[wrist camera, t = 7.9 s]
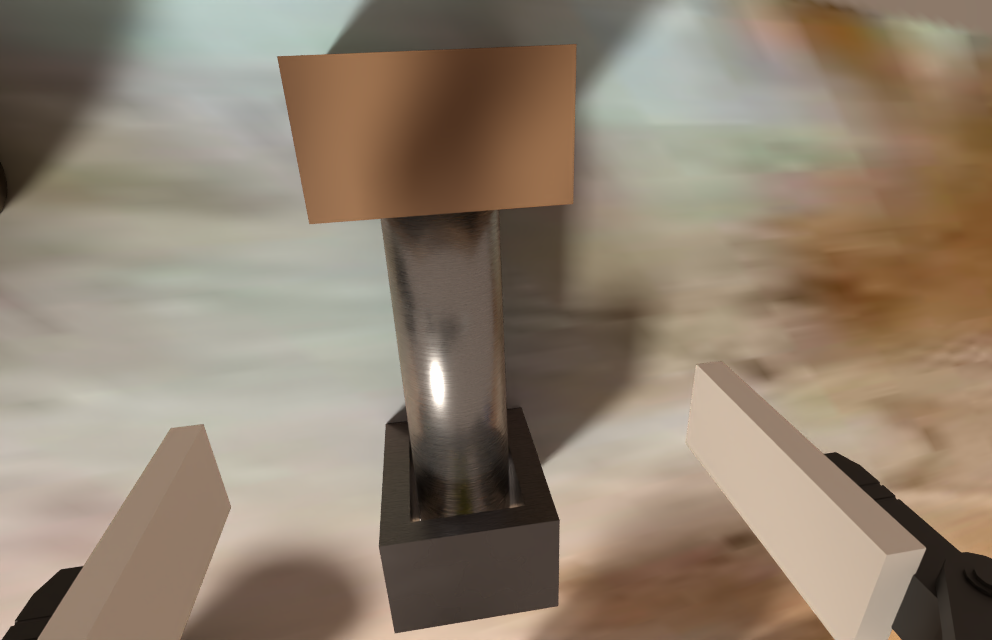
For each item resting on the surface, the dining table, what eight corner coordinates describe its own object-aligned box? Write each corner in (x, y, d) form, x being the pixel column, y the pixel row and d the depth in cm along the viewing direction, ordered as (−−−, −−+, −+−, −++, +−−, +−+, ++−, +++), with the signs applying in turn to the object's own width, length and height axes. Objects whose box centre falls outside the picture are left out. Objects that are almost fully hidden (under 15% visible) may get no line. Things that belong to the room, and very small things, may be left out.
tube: (503, 475, 33) (519, 541, 28) (419, 486, 32) (421, 555, 28) (488, 127, 24) (507, 141, 20) (372, 134, 24) (364, 150, 19)
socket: (340, 173, 26) (309, 224, 18) (322, 60, 24) (277, 56, 16) (521, 161, 27) (573, 203, 19) (519, 51, 25) (576, 44, 17)
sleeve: (397, 498, 35) (394, 633, 27) (385, 424, 33) (379, 546, 24) (523, 481, 36) (558, 605, 28) (521, 407, 34) (559, 520, 25)
